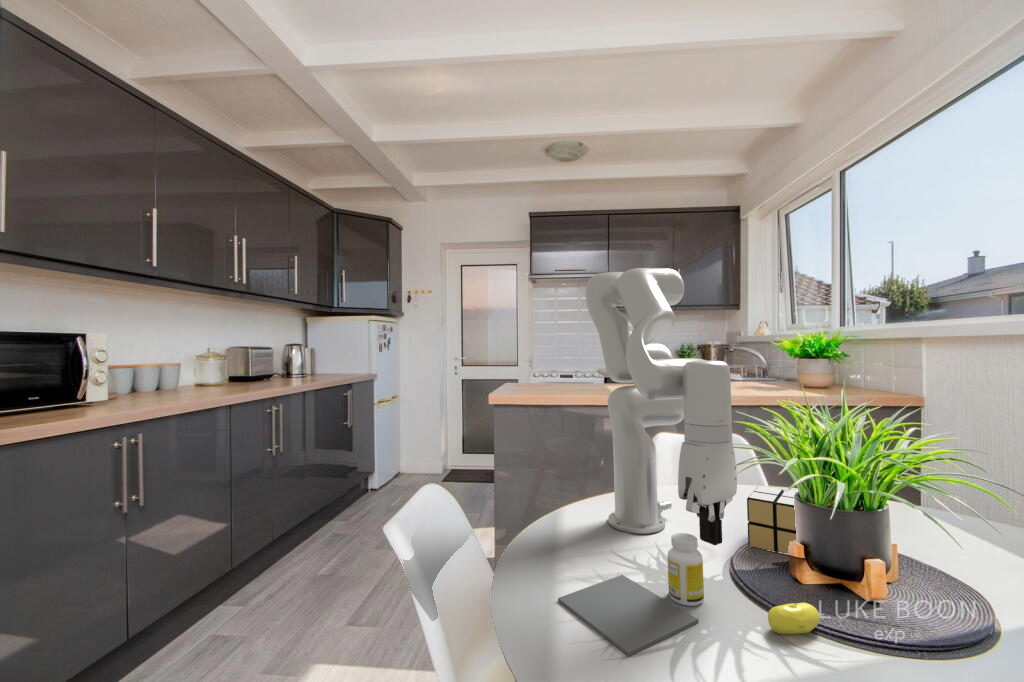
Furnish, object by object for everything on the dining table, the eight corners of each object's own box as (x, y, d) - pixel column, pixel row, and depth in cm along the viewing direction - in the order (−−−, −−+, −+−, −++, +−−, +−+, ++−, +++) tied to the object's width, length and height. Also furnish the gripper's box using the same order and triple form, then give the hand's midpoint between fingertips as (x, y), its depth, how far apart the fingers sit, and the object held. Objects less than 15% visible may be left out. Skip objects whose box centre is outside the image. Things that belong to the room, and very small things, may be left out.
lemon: (759, 625, 69) (759, 598, 69) (808, 619, 70) (807, 593, 70) (780, 643, 64) (779, 614, 64) (831, 636, 66) (831, 608, 66)
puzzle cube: (759, 531, 102) (757, 485, 102) (813, 542, 96) (812, 493, 96) (747, 547, 94) (746, 497, 94) (806, 560, 88) (804, 507, 88)
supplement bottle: (706, 594, 77) (704, 534, 77) (701, 610, 72) (699, 547, 73) (672, 586, 80) (670, 528, 80) (665, 601, 75) (663, 540, 75)
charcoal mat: (622, 577, 83) (622, 574, 83) (698, 622, 69) (698, 619, 69) (558, 601, 76) (558, 597, 76) (628, 656, 62) (628, 652, 62)
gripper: (716, 425, 87) (719, 525, 86) (659, 435, 79) (662, 544, 79) (755, 431, 80) (758, 539, 80) (697, 442, 73) (701, 561, 72)
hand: (711, 541), depth 79 cm, fingers closed
